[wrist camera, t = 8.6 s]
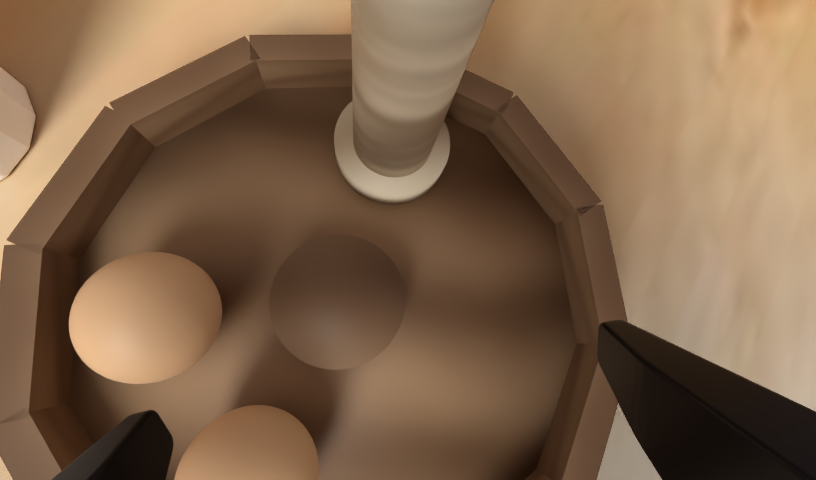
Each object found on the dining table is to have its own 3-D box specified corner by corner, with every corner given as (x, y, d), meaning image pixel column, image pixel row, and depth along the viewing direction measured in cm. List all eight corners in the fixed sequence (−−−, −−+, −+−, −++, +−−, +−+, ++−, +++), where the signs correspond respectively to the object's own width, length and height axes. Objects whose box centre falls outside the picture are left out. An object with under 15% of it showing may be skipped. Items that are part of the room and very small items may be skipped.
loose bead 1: (237, 369, 16) (195, 382, 12) (115, 383, 16) (24, 402, 11) (236, 258, 17) (196, 233, 13) (120, 267, 16) (37, 244, 12)
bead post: (463, 176, 19) (767, -267, 5) (366, 222, 18) (402, -174, 4) (413, 87, 20) (555, -524, 6) (316, 126, 19) (196, -503, 5)
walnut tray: (629, 548, 17) (684, 590, 14) (34, 664, 14) (-49, 748, 11) (539, 73, 22) (566, 33, 19) (76, 81, 19) (25, 35, 16)
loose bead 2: (327, 513, 15) (316, 581, 11) (202, 534, 15) (140, 614, 11) (320, 389, 16) (307, 408, 12) (202, 404, 16) (145, 429, 11)
